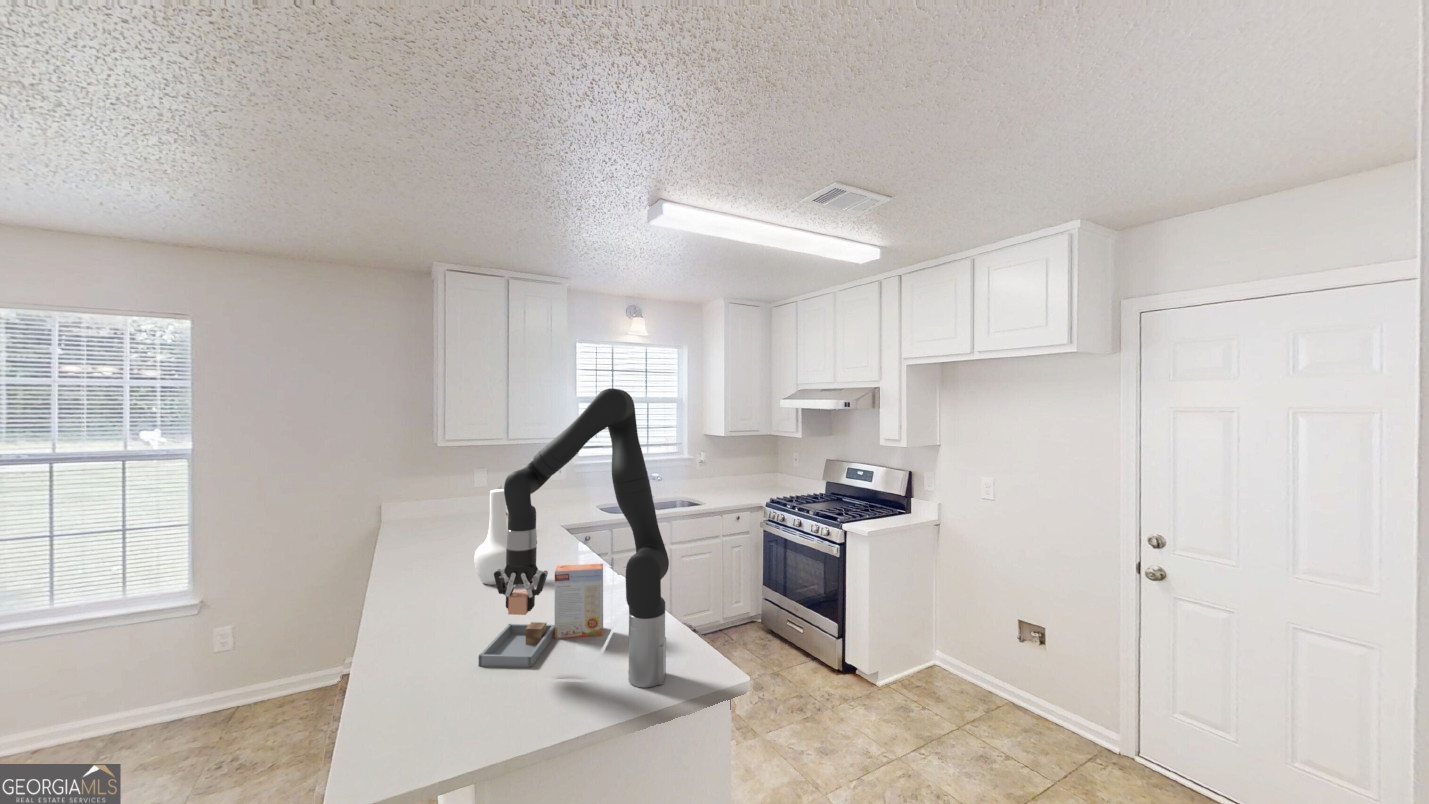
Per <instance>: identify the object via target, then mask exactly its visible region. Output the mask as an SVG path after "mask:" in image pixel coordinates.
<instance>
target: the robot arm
mask: <svg viewBox="0 0 1429 804" xmlns="http://www.w3.org/2000/svg"><path fill="white" fill-rule="evenodd" d="M635 407H636V406H635V401H634V400H633V398H632V396H631V394H630V393H628V392H627V391H625V390H623V389H620V388H607V389H604V390H602V391H599V392H598V394H597V395H596V396H595V398H594V399H593V400H592V401H591V402H590V403H589V405H588V406H587V407H586V408H585V409H584V411H583V412H582V413H580V415H578V417H577V418H576V419H575V420H574V421H573V422H572V423H571V424H570V425H569V426H568V427H566V429H564V430H563V431H562V432H561V433H560V434H558V435H557V436H556V437H555V438H553V439H552V440H551V441H550V442H549V443H547V444H546V445H545V446H544V447H543V448H542V449H540V450H539V451H538V452H537V453H536V454H535V455H534V456H533V459H532V460H531V461H530V462H529V463H528V464H527V465H525V466H524V467H523V468H521V469H518V470H515V471H513V472H511V473H509V474H508V475H507V477H506V479H505V481H504V484H503V485H504V486H503V489H504V495H505V500H506V510H507V513H508V518H507V530H508V532H507V540H506V567H505V569H502V570H501V569H498V570H497V571H496V572H495V573H494V578H495V581H496V585H495V586H496V587H497V588H496V589H497V593H498V594H500V595H504V596H505V608H506V609H508V605H509V596H510V595H511V594H512V593H514V592H515V587H516V585H521V586H524V589H525V591H527V594H528V601H527V611H529V612H531V611H532V610H533V608H534V607H535V605H536V604H535V603H536V601H535V600H536V596H539V595H540V594H541V593H542V592H543V589H544V586H545V584H546V581H547V578H548V574H549V573H548V570H544V571H543V570H540V569H539V568H538V566H537V548H538V547H537V545H538V536H537V534H538V533H537V510H536V507H535V506H533V505H532V500H531V495H532V494H534V493H535V492H536V491H538V490H539V489H540V488H542V487H543V485H545V483H546V482H548V480H549V479H550V478H551V477H552V476H553V475H555V474H556V473H557V472H559V471H560V470H561V469H562V468H563V467H565V466H566V465H567V464H568V463H569V462H570V461H572V460H573V459H574V458H575V456H577V455H578V454H579V452H580V451H581V450H582V449H583V447H584V446H586V444H587V443H588V442H589V441H590V440H591V439H592V438H594V437H595V436H596V435H598V434H599V433H600V432H602V431H603V430H605V429H606V428H607V429H608V434H609V437H610V441H611V448H612V449H611V479H612V485H613V490H614V493H615V494H614V496H615V499H616V503H617V505H618V507H619V509H620V510H621V511H620V512H621V513H622V514H623V516H624V517H625V519H626V520H627V523H628V524H629V526H630V528H631V532H632V535H633V540H634V545H635V546H634V547H635V553H634V554H633V555H632V556H630V558H629V559H628V560H627V562H626V567H625V597H626V598H625V599H626V603H627V606H628V670H627V672H628V682H629V683H630V684H631V686H634V687H638V688H654V687H656V686H660V685H662V686H663V685H664V683H665V679H666V678H665V677H666V674H667V636H666V601H665V599H664V598H663V597H662V585H661V584H662V583H661V582H662V581H661V580H662V579H663V578H664V577H665V576H666V575H667V573H668V570H669V567H670V562H669V561H670V559H669V556H668V552H667V549H666V547H665V544H664V543H665V542H664V539H663V537H662V535H661V534H662V533H661V531H660V526H659V523H658V519H657V512H656V507H655V503H654V498H653V492H652V488H651V482H650V477H649V474H648V471H647V466H646V462H645V457H644V454H643V449H642V446H641V443H640V440H639V433H638V428H637V415H636V408H635ZM505 574H506V576H507V577H508V578H509V582H507V585H506V583H505V580H504V576H505ZM535 576H537V580H538V582H537V585H536V588H535V581H534V579H533V578H534V577H535Z"/></svg>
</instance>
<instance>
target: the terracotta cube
mask: <svg viewBox="0 0 1429 804" xmlns="http://www.w3.org/2000/svg"><path fill="white" fill-rule="evenodd" d="M527 601H528V594H527V590H514V591H513V593H512V594H511V595H510V596H509V605H508V608H507V611H508V613H507V615H514V616H515V615H519V616H526V615H527V614H528V613H529V612H530V611H527Z"/></svg>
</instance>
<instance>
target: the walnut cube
mask: <svg viewBox="0 0 1429 804" xmlns="http://www.w3.org/2000/svg"><path fill="white" fill-rule="evenodd" d="M546 625H547V622H537V621H535V622H534V621H530V623H529V626H528V627H527V628H526V644H529V645H538V643H539V642H540V641H541V639H542V638H543V637H544V635H545V634H546Z"/></svg>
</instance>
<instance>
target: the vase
mask: <svg viewBox="0 0 1429 804" xmlns="http://www.w3.org/2000/svg"><path fill="white" fill-rule="evenodd" d="M506 512H507V506H506V500H505V495H504V488H503V489H502V488H501V489H500V488H499V489H491V490H490V491H489V522H488V523H489V524H488V531H487V536H486V539H485V540H484V542H482V543H481V544H480V545H479V546H478V547H477V549H475V552H474V557H473V558H474V559H473V560H474V566H475V570H476V574H477V576H478V578H479V580H480V582H481V583H483V584H484V585H487V586H488V585H489V586H492V585H495V586H497V585H496V581H495V578H494V573H495V572H496V571H497V570H498V569H501V570H502V569H505V567H506V540H507V532H508V521H507V518H506ZM504 580H505V584H506V583H507V584H508V583H509V578H508V577H507V576H506V574H505V576H504Z"/></svg>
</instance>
